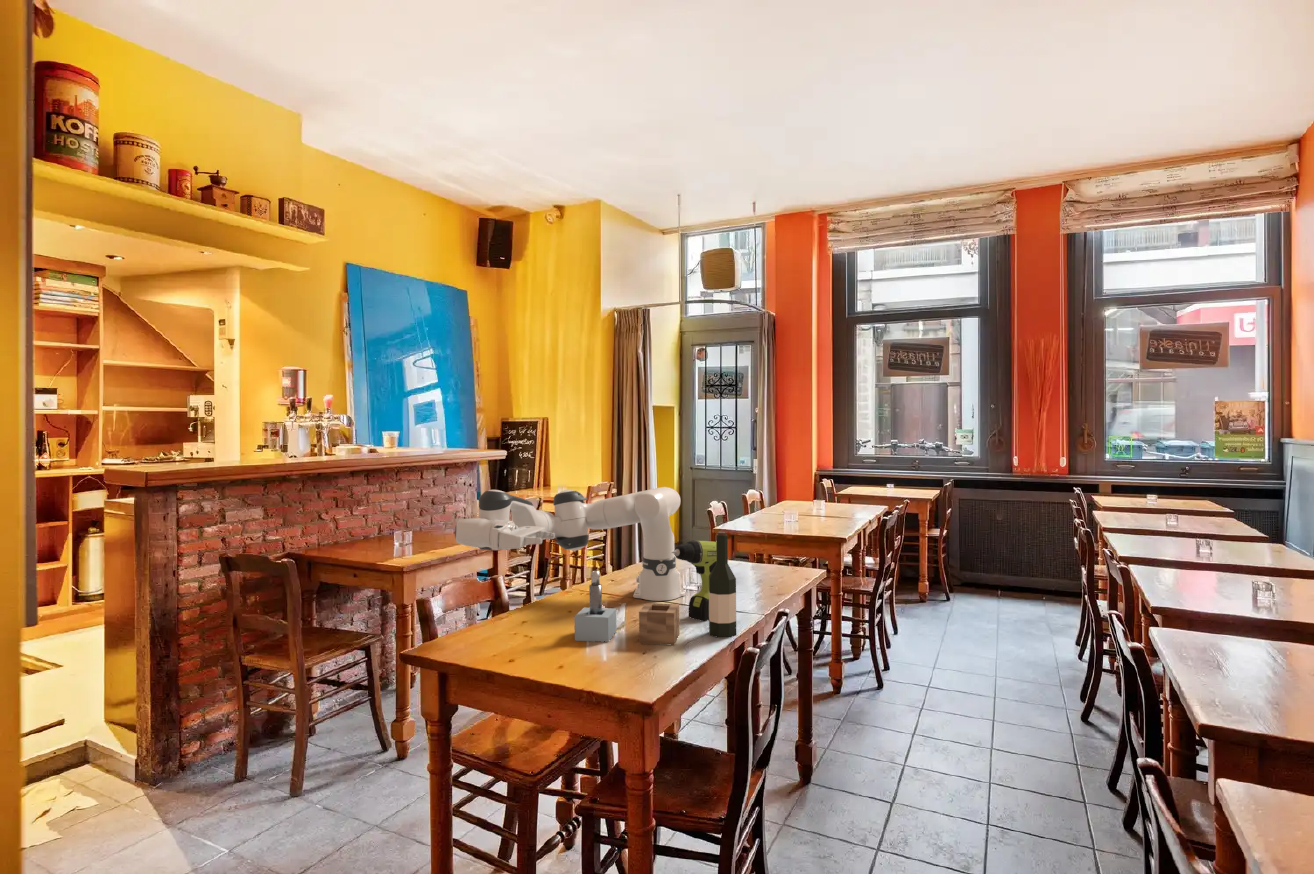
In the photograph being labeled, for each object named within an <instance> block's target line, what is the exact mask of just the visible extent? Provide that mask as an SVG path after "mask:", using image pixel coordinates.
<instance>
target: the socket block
mask: <svg viewBox="0 0 1314 874" xmlns="http://www.w3.org/2000/svg"><path fill="white" fill-rule="evenodd" d="M617 612H618V611H617V608H611V607H610V608H609V607H608V608H607V607H602V615H592V614H590V607H586V606H585V607H583V608H582V609H581V610H580V611H578V613H576V614H575V615H574V641H575V642H576V641H578V642H595V641H601V643H609V642H610V641H611V640H612V638H613V637H614V636H615V635H614V633H615V632H616V630H618V627H617V626H618V625H617V624H618V623H617V622H618V619H617ZM616 633H617V632H616ZM616 633H615V634H616ZM613 635H614V636H613ZM612 636H613V637H612ZM610 639H611V640H610ZM609 640H610V641H609ZM604 641H605V642H604Z"/></svg>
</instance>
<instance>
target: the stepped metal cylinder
mask: <svg viewBox="0 0 1314 874" xmlns="http://www.w3.org/2000/svg"><path fill="white" fill-rule="evenodd" d="M590 576H591V578H590V579H591V584H589V591H588V592H589V594H588V595H589V596H588V597H589V608H590V614H592V615H602V608H603V599H602V597H603V596H602V595H603V593H602V592H603V591H602V589H603V586H602V585H603V584H602V583H600V579H601V575H600V571H599V570H592V571H590Z"/></svg>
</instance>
